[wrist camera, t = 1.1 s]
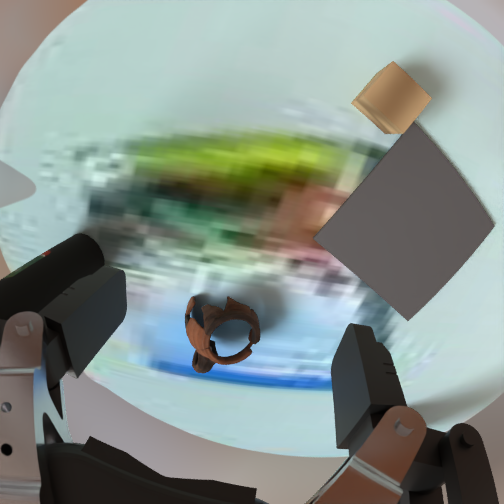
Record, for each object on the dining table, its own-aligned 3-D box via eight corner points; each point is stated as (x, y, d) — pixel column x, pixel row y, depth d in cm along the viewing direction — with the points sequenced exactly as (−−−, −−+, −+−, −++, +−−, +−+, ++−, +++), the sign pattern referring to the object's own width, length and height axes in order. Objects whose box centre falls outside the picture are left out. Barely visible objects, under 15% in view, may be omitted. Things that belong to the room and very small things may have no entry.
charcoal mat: (492, 224, 29) (494, 226, 29) (407, 319, 36) (407, 321, 35) (412, 121, 27) (413, 121, 26) (313, 237, 34) (313, 238, 33)
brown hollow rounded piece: (191, 273, 38) (207, 300, 31) (253, 288, 42) (280, 315, 35) (167, 349, 40) (178, 386, 33) (226, 357, 44) (245, 390, 37)
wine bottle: (95, 289, 41) (-35, 421, 13) (62, 259, 40) (-76, 367, 12) (111, 255, 38) (-49, 397, 11) (76, 223, 37) (-92, 331, 10)
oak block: (409, 104, 26) (431, 98, 21) (384, 134, 28) (403, 133, 23) (376, 73, 26) (392, 60, 20) (350, 103, 27) (363, 95, 22)
